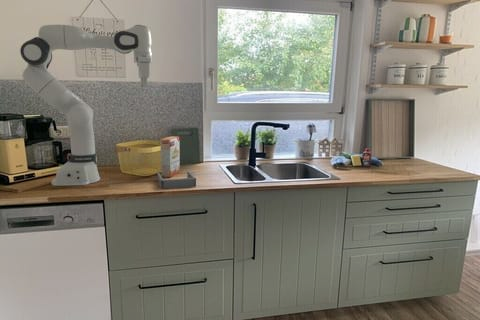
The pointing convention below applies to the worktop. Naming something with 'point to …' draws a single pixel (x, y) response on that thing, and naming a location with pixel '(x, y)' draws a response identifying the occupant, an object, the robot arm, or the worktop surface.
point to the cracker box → (170, 156)
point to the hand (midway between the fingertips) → (144, 87)
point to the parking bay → (177, 181)
